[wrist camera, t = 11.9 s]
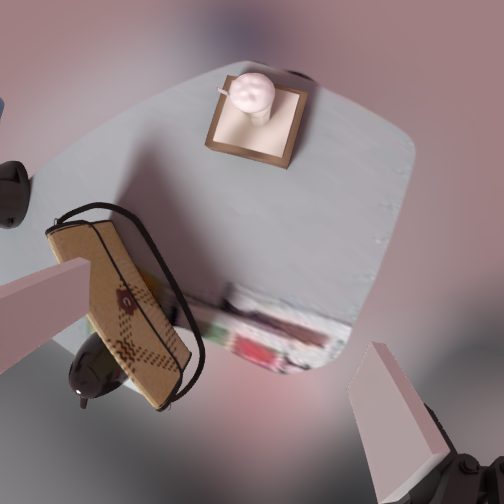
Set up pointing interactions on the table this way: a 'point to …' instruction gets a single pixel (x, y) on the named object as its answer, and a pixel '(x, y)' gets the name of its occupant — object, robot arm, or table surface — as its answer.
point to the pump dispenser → (95, 371)
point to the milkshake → (252, 97)
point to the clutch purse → (128, 306)
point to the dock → (258, 128)
